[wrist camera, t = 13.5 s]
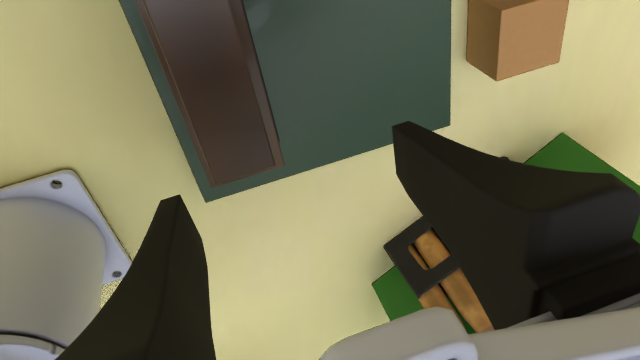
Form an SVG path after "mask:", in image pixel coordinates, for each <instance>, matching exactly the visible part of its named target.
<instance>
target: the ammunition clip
mask: <svg viewBox="0 0 640 360" xmlns="http://www.w3.org/2000/svg"><path fill="white" fill-rule="evenodd" d="M502 158H503V159H506V160H509V159H508V158H507V157H502ZM441 240H442V239H441V238H440V237H439V235H438V234H437V233H436V231H435V230H434V229H433V227H432V226H431V225H430V224H429V222H428V221H427V220H426V218H425V217H424V216H423V217H422V218H420V219H419V220H418V221H416V222H415V223H414V224H412V225H411V226H410V227H408V228H407V229H406V230H404V231H403V232H402V233H400V234H399V235H398V236H396V237H395V238H394V239H392V240H391V241H390V242H388V243H387V244H386V245H384V249H385V250H386V252H387V253H388V255H389V256H390V258H391V259H392V261H393V262H394V264H395V265H396V267H397V268H398V270H399V271H400V273H401V274H402V276H403V277H404V279H405V280H406V282H407V283H408V285H409V286H410V288H411V289H412V291H413V292H414V294H415V295H416V297H417V298H418V299H419V301H420V303H421V304H422V306H423V308H424V309H428V308H433V307H442V308H446V309H449V310H453V312H454V313H455V315H456V316H457V318H458V320H459V321H460V323H461V324H462V326H463V327H464V324H463V322H462V320H461V319H460V317H459V316H458V314H457V312H456V311H455V309H454V308H453V306H452V305H451V303H450V302H449V300H448V298H447V297H446V296H447V295H448V296H449V298H450V299H451V300H452V302H453V303H454V305H455V306H456V308H457V309H458V311H459V312H460V314H461V315H462V317H463V318H464V319H465V321H466V322H467V323H468V324H469V325H470V326H471V327H472V328H473V329H474V330H475V332H476V333H480V332H486V331H492V330H494V328H493V326H492V324H491V322H490V320H489V319H488V317H487V315H486V313H485V311H484V309H483V307H482V306H481V304H480V302H479V300H478V298H477V296H476V294H475V293H474V291H473V289H472V287H471V286H470V284H469V282H468V280H467V279H466V277H465V275H464V273H463V272H462V270H461V268H460V267H459V265H458V263H457V262H456V260H455V258H454V257H453V255H452V254H451V255H450V253H449V252H448V250H447V249H446V248H445V246H444V245H443V243H442V242H441ZM442 241H443V240H442ZM444 244H445V243H444ZM447 248H448V247H447ZM420 256H422V257H423V259H424V260H425V262H426V263H427V265H428V266H429V268H430V270H429V269H428V268H427V266H426V264H425V263H424V261H423V260H422V258H421V257H420ZM464 329H465V327H464ZM465 331H466V329H465Z"/></svg>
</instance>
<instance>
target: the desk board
mask: <svg viewBox="0 0 640 360" xmlns="http://www.w3.org/2000/svg"><path fill="white" fill-rule="evenodd" d="M119 2H120V4H121V7H122V9H123V11H124V14H125V16H126V18H127V21H128V23H129V25H130V28H131V30H132V32H133V35H134V37H135V39H136V42H137V44H138V46H139V49H140V51H141V53H142V56H143V58H144V60H145V63H146V65H147V67H148V70H149V72H150V74H151V77H152V79H153V81H154V84H155V86H156V88H157V91H158V93H159V95H160V98H161V100H162V102H163V105H164V107H165V109H166V112H167V114H168V116H169V119H170V121H171V123H172V126H173V128H174V130H175V133H176V135H177V137H178V140H179V142H180V144H181V147H182V149H183V151H184V154H185V156H186V158H187V161H188V163H189V165H190V168H191V170H192V172H193V175H194V177H195V179H196V182H197V184H198V186H199V189H200V191H201V193H202V196H203V198H204V200H205V202H206V203H207V202H210V201H213V200H216V199H219V198H222V197H225V196H229V195H232V194H235V193H238V192H241V191H244V190H248V189H251V188H254V187H257V186H260V185H263V184H266V183H270V182H273V181H276V180H279V179H282V178H285V177H289V176H292V175H295V174H298V173H301V172H304V171H307V170H311V169H314V168H317V167H320V166H323V165H326V164H330V163H333V162H336V161H339V160H342V159H345V158H348V157H352V156H355V155H358V154H361V153H364V152H367V151H371V150H374V149H377V148H380V147H383V146H386V145H389V144H393V134H392V126H394V125H397V124H400V123H403V122H406V121H411V122H413V123H415V124H417V125H420V126H422V127H424V128H426V129H428V130H430V131H434V130H437V129H440V128H443V127H446V126H449V125H450V77H451V0H243V4H244V8H245V11H246V15H247V19H248V23H249V26H250V30H251V34H252V38H253V41H254V45H255V49H256V53H257V56H258V60H259V64H260V68H261V71H262V75H263V79H264V83H265V86H266V90H267V94H268V98H269V101H270V105H271V109H272V113H273V116H274V120H275V124H276V128H277V131H278V135H279V139H280V142H279V145H280V148H281V152H282V156H283V159H284V163H285V166H282V167H279V168H276V169H273V170H270V171H266V172H263V173H260V174H257V175H254V176H251V177H247V178H244V179H241V180H238V181H235V182H231V183H228V184H225V185H222V186H219V187H215V188H211V186H210V184H209V181H208V179H207V176H206V174H205V171H204V169H203V167H202V164H201V162H200V159H199V157H198V154H197V152H196V150H195V147H194V145H193V142H192V140H191V137H190V135H189V132H188V130H187V127H186V125H185V123H184V120H183V118H182V115H181V113H180V110H179V108H178V105H177V103H176V100H175V98H174V96H173V93H172V91H171V88H170V86H169V83H168V81H167V78H166V76H165V73H164V71H163V69H162V66H161V64H160V61H159V59H158V56H157V54H156V51H155V49H154V47H153V44H152V42H151V39H150V37H149V34H148V32H147V29H146V27H145V24H144V22H143V20H142V17H141V15H140V12H139V10H138V7H137V5H136V2H135V0H119Z"/></svg>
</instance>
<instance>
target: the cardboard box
mask: <svg viewBox="0 0 640 360" xmlns="http://www.w3.org/2000/svg"><path fill="white" fill-rule="evenodd" d="M568 4H569V0H469V5H468V38H467V62H469V63H470V64H472V65H473V66H474V67H476V68H477V69H479V70H480V71H482V72H483V73H485V74H486V75H488V76H489V77H491V78H492V79H494V80H495V81H499V80H503V79H506V78H509V77H512V76H516V75H519V74H522V73H525V72H529V71H532V70H535V69H538V68H542V67H545V66H548V65H552V64H555V63H558V62H559V59H560V53H561V47H562V40H563V34H564V28H565V22H566V16H567V10H568Z"/></svg>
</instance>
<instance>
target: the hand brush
mask: <svg viewBox="0 0 640 360" xmlns="http://www.w3.org/2000/svg"><path fill="white" fill-rule="evenodd" d="M135 2H136V5H137V7H138V10H139V12H140V15H141V17H142V20H143V22H144V24H145V27H146V29H147V32H148V34H149V37H150V39H151V42H152V44H153V47H154V49H155V51H156V54H157V56H158V59H159V61H160V64H161V66H162V69H163V71H164V73H165V76H166V78H167V81H168V83H169V86H170V88H171V91H172V93H173V96H174V98H175V100H176V103H177V105H178V108H179V110H180V113H181V115H182V118H183V120H184V123H185V125H186V127H187V130H188V132H189V135H190V137H191V140H192V142H193V145H194V147H195V150H196V152H197V154H198V157H199V159H200V162H201V164H202V167H203V169H204V171H205V174H206V176H207V179H208V181H209V184H210V186H211V188H215V187H219V186H222V185H225V184H228V183H231V182H235V181H238V180H241V179H244V178H247V177H251V176H254V175H257V174H260V173H263V172H266V171H270V170H273V169H276V168H279V167H282V166H285V163H284V159H283V156H282V152H281V148H280V145H279V142H280V139H279V135H278V131H277V128H276V124H275V120H274V116H273V113H272V109H271V105H270V101H269V98H268V94H267V90H266V86H265V83H264V79H263V75H262V71H261V68H260V64H259V60H258V56H257V53H256V49H255V45H254V41H253V38H252V34H251V30H250V26H249V23H248V19H247V15H246V11H245V8H244V4H243V0H135Z"/></svg>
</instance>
